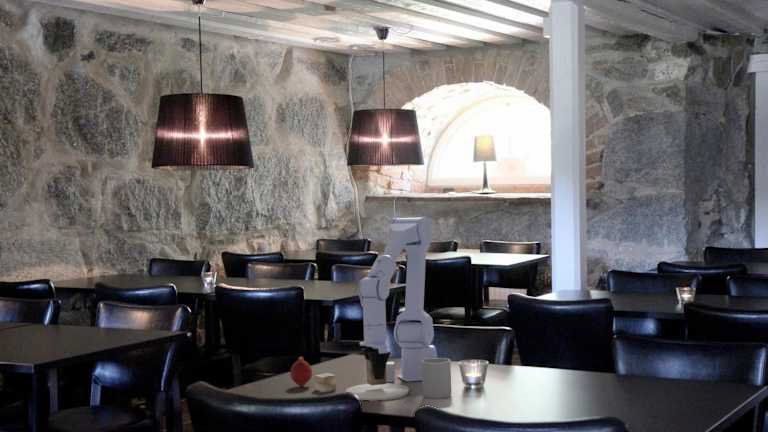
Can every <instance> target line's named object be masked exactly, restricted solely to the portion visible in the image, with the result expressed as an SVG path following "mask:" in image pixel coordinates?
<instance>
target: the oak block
mask: <svg viewBox="0 0 768 432" xmlns="http://www.w3.org/2000/svg"><path fill="white" fill-rule="evenodd" d="M314 389H315V391H318V392H321V393H327V392H328V393H329V392H333V391H337V375H336V374H332V373H328V372H326V373H321V374H315V375H314Z"/></svg>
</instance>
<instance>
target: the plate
mask: <svg viewBox="0 0 768 432" xmlns="http://www.w3.org/2000/svg"><path fill="white" fill-rule="evenodd" d="M409 391H410V388H409V387H408V386H406V384H399V383H386V384H381V385H370V384H368V383H364V384H357V385H354V386H350V387H348V388H346V390H345V393H346V392H351V393H355V394H356V395H357V396H358V397H359V398H360V399H361V400H360V401H363V400H369V401H368V402H373V401H374V402H377V401H379V400H382V401H390V400H391V401H392V400H396V399H397V400H398V399H401V398H404V397H407V396H408V395H409V394H410V392H409ZM379 402H380V401H379Z"/></svg>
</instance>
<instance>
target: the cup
mask: <svg viewBox="0 0 768 432" xmlns="http://www.w3.org/2000/svg"><path fill="white" fill-rule="evenodd" d="M421 365H422V380H421V385H422V386H421V390H422V391H421V392H422V397H423V398H424V399H428V400H429V399H430V400H441V399H448V398H450V397H452V371H451V370H452V369H451V367H452V366H451V365H452V363H451V359H450V358H442V357H437V358H431V359H424V360H422V361H421Z"/></svg>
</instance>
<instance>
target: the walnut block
mask: <svg viewBox="0 0 768 432" xmlns="http://www.w3.org/2000/svg"><path fill="white" fill-rule="evenodd" d="M365 362H366V364H365V365H366V384H370V385H381V384H386V368H385V374H384V378H383V379H378V380H375V377H374V373H373V367H372V363H371V360H370V359H365Z"/></svg>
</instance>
